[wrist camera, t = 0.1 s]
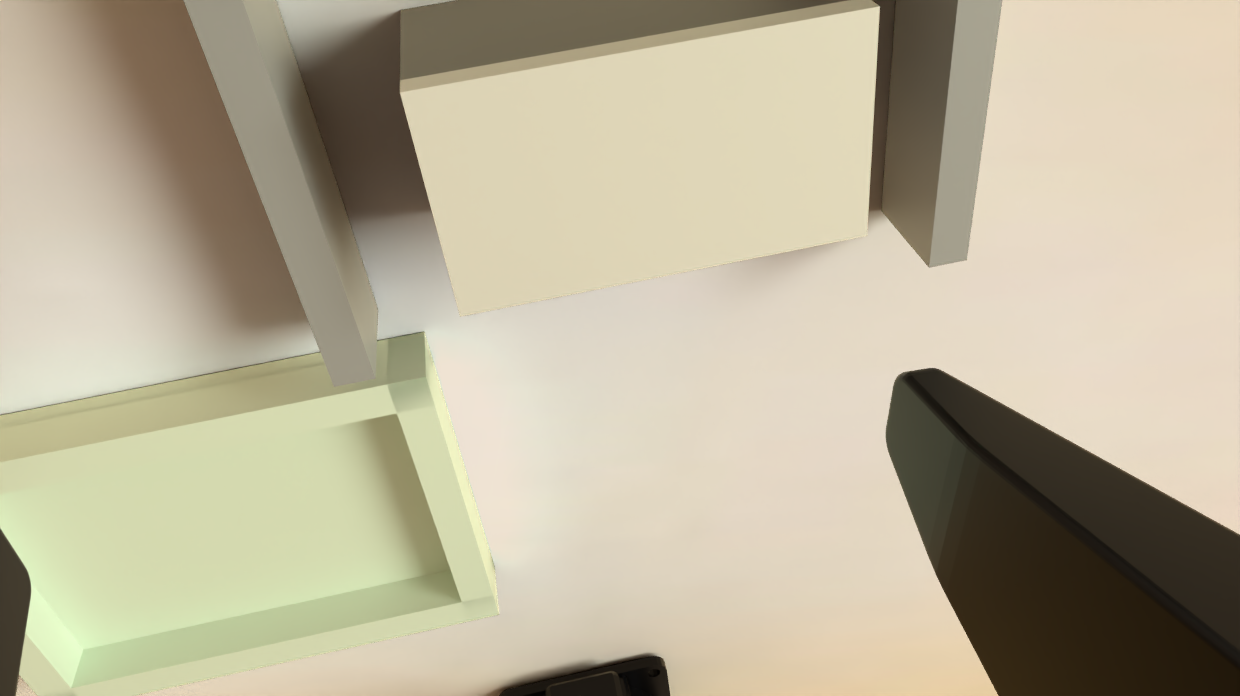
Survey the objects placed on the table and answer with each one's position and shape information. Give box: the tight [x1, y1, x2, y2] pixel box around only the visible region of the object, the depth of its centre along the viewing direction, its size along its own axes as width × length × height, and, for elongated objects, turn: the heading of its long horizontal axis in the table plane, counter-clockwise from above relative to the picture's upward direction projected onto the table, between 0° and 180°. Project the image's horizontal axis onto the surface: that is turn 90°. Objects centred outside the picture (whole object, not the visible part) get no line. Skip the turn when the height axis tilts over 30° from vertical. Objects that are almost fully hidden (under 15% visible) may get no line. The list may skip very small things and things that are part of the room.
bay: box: [183, 0, 1002, 387], centre depth 20 cm, size 13×16×3 cm
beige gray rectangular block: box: [400, 0, 880, 317], centre depth 21 cm, size 5×9×5 cm, turn 96°
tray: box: [0, 332, 499, 696], centre depth 27 cm, size 10×14×2 cm
